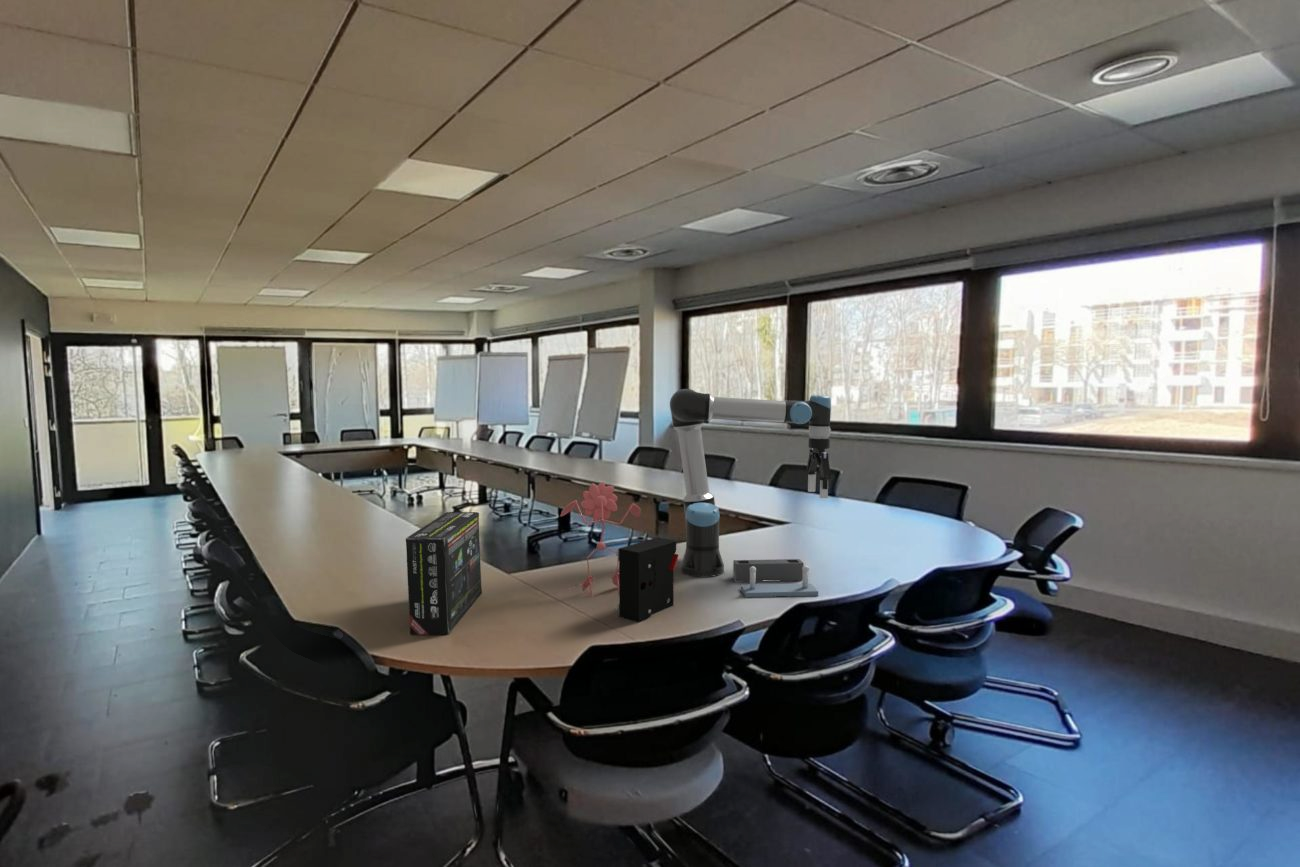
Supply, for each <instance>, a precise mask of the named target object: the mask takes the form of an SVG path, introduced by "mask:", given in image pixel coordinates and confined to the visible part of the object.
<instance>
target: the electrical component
mask: <svg viewBox="0 0 1300 867" xmlns="http://www.w3.org/2000/svg"><path fill="white" fill-rule="evenodd" d="M676 552H677V542H676V541H675V540H674V539H670V538H669V539H668V538H663V537H654V538H650V539H647V540H643V541H640V542H636V543H633V544H630V545H627V546H626V545H625V546H623V547H620V548H618V549H617V550H616V553H615V555H616V557H617V561H619V563H618V573H619V591H618V593H619V596H618V597H619V599H618V600H619V603H618V604H617V605H616V610H617V612H618V616H619V618H622V619H626V620H629V621H631V622H636V623H642V622H643V621H646V620H647V619H650V618H651V617H652V615H655V614H657V613H659V612H661V611H664V610H667V609H669V608H670V607H673V606H674V578H675V577H674V574H675V573H674V571H675V567H676V564H677V561H678V558H679V554H677V553H676Z"/></svg>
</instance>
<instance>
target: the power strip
mask: <svg viewBox="0 0 1300 867" xmlns="http://www.w3.org/2000/svg"><path fill="white" fill-rule="evenodd" d="M732 564H733V567H732V574H733V575H732V576H733V577H734V578H735V579H734V578H733V579H734V581H735V580H736V581H748V582H750V571H749V569H750V567H752V566H754V567H755V568H756V582H764V581H763V580H798V581H802V580H803V570H802V567H803V566H804V565H805V564H804V561H802V559H800V558H795V559H794V558H791V559H790V558H784V559H738V560H736V559H733V563H732ZM736 581H735V582H736Z"/></svg>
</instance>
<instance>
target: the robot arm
mask: <svg viewBox="0 0 1300 867" xmlns="http://www.w3.org/2000/svg"><path fill="white" fill-rule="evenodd" d="M831 401H832V400H831V397H830V396H828V395H811V396H810V397H809V400H787V399H785V400H775V399H773V400H771V399H755V398H740V397H739V398H738V397H736V398H735V397H721V396H713V395H712V394H711V393H702V392H698V391H695V390H693V389H690V388H681V389H679V390H677V391H676V392H675V393H673V394H672V396H671V398H670V400H669V409H670V413H671V420H672V421H671V422H672V428H673V429H674V430H676V431H677V434H678V442H679V449H680V450H679V452H680V457H681V464H682V465H681V466H682V472H683V479H684V488H685V496H684V497H683V499H682V501H683V510H684V519H685V532H686V533H685V538H686V539H685V546H686V547H685V550H684V555H683V558H682V561H681V564H680V568H681V569H680V571H681V573H683V574H686V575H687V574H688V576H692V575H693V576H692V577H701V576H707V577H714V576H713V575H716V576H719V575H718V574H720V575H722V574H723V573H724V571H725V567H724V562H723V558H722V555H721V551H720V517H721V516H720V509H719V507H718V506H716V501H715V495H714V494H712V492H711V491H710V488H709V487H710V485H709V482H708V473H707V466H706V465H707V464H706V459H705V458H706V457H705V451H704V442H703V435H702V427H703V425H704V424H705V422H709V421H711V420H712V419H715V420H716V419H718V420H736V421H752V422H768V423H769V422H770V423H771V422H773V423H785V424H796V425H803V424H806V423H809V426H808V437H809V438H808V448H809V452H808V453H809V455H808V460H807V465H806V470H805V471H806V472H807V475H808V476H807V477H808V478H807V492H809V493H811V492H812V493H814V492H816V484H817V469H818V471H819V474H820V478H819V498H820V499H828V498H829V480H831V478H832V476H831V467H830V461H829V452H828V451H827V452H826V451H825V450H827V449H828V450H829V449H830V447H831V446H830V444H831V443H830V442H831V439H830V436H831V431H832V429H831V412H832V411H831V410H832V403H831ZM721 573H722V574H721Z"/></svg>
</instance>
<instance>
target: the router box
mask: <svg viewBox="0 0 1300 867" xmlns="http://www.w3.org/2000/svg"><path fill="white" fill-rule="evenodd" d="M479 517H480V513H479V511H449V512H444V513H443V514H442V515H440V516H438V517H437V518H435V519H433V520H431V522H428V523H427V524H425V525H424V526H423V527H421V528H420V529H418V530H416V531H415V532H413V533H411V535H409V536H408V537H406V538H405V546H406V550H405V551H406V567H407V568H406V570H407V571H406V574H407V575H406V576H407V594H408V596H407V597H408V613H409V615H408V616H409V634H410V635H423V636H429V635H431V636H434V635H448V634H449V635H450V634H451V632H452V631H453V629H455V627H457V624H458V623H459V622H460V621H461V620H462V618H463V617H464V616H465V615H466V613H467V612H468V611H469V610H470V608H471V607H472V606H473V605H474V604H475V602H476V601H477V600H478V598H479V597H480V596H481V595H482V594H483V590H482V573H481V571H482V570H481V547H480V546H481V545H480V544H481V543H480V542H481V541H480V518H479Z"/></svg>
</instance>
